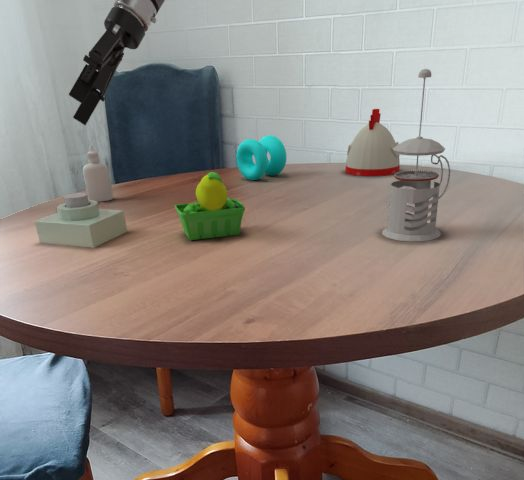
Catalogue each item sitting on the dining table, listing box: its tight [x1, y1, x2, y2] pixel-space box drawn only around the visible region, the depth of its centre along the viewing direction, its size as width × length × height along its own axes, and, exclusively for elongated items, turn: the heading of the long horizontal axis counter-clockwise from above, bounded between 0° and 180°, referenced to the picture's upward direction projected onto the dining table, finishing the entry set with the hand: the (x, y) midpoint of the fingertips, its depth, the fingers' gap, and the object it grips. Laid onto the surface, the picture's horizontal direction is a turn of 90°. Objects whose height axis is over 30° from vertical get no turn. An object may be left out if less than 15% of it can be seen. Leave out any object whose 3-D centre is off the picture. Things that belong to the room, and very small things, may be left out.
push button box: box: [34, 200, 128, 249], centre depth 98 cm, size 12×10×6 cm
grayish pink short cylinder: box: [63, 192, 89, 208], centre depth 96 cm, size 4×4×2 cm
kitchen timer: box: [344, 108, 401, 177], centre depth 139 cm, size 14×14×15 cm
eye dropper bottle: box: [82, 145, 114, 203], centre depth 123 cm, size 4×6×12 cm
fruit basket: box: [174, 171, 246, 241], centre depth 94 cm, size 11×9×11 cm
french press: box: [381, 68, 451, 242], centre depth 87 cm, size 10×12×25 cm
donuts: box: [235, 134, 287, 181], centre depth 139 cm, size 10×10×10 cm
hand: (77, 111), depth 107 cm, fingers open, 13 cm apart
